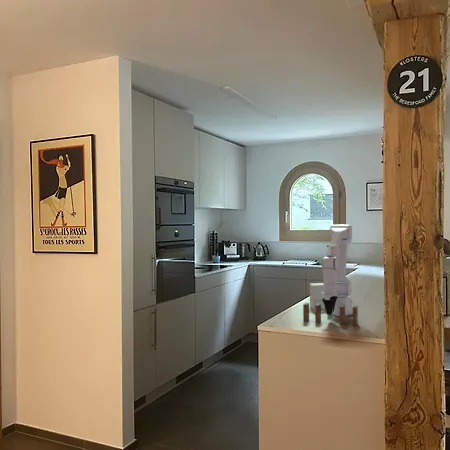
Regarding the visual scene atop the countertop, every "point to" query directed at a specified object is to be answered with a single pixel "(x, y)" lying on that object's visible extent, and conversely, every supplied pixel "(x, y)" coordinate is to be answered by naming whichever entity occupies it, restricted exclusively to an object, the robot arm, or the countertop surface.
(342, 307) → the domino
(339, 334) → the countertop surface
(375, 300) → the countertop surface
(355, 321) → the brown flat rectangular block
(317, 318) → the domino
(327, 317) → the domino
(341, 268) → the robot arm
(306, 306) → the domino
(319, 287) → the supplement box
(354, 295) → the countertop surface
